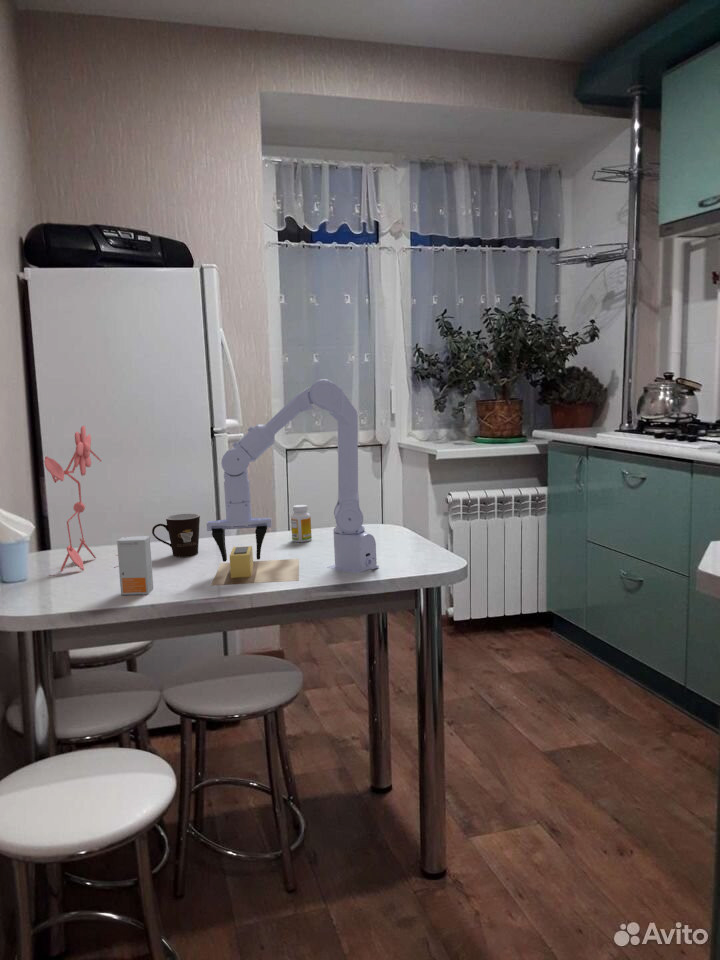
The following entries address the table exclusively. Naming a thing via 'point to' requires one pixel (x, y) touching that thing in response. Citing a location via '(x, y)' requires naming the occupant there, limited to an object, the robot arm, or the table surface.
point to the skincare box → (135, 565)
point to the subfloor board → (260, 572)
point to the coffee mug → (182, 534)
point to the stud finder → (241, 562)
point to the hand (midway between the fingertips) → (241, 559)
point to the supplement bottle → (301, 524)
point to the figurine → (83, 461)
